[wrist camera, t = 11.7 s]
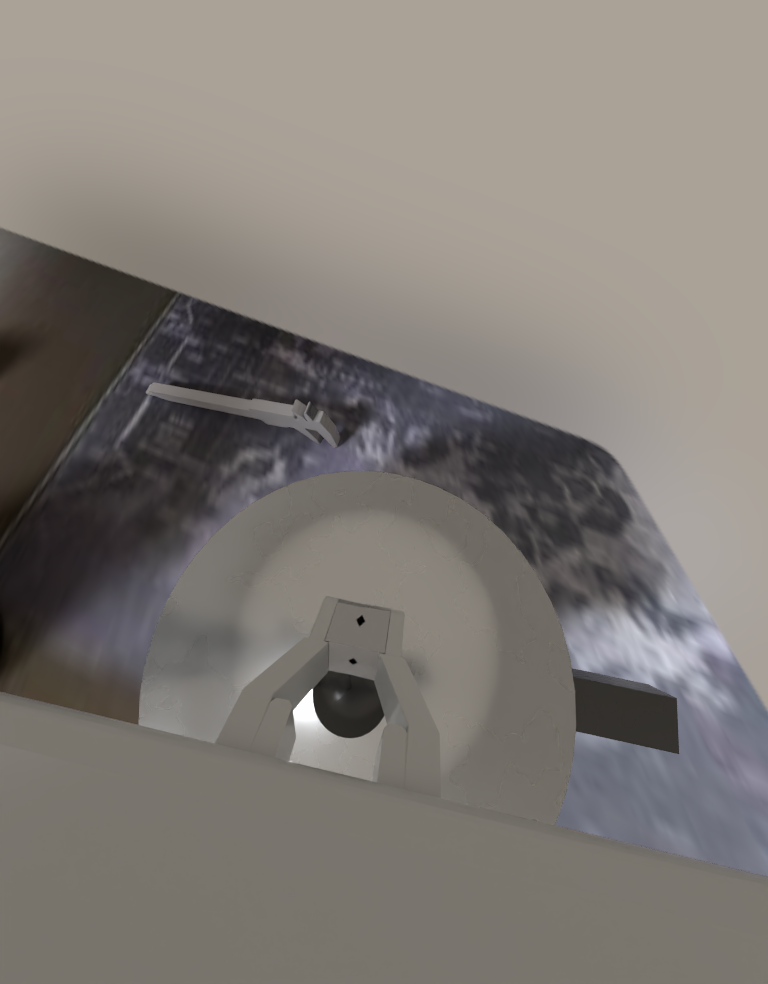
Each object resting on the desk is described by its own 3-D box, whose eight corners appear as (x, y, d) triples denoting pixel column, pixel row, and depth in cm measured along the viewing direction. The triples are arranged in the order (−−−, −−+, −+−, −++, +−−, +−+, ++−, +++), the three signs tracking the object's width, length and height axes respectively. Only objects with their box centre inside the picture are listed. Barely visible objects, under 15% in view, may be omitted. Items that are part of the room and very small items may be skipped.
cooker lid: (554, 1005, 10) (599, 1128, 8) (84, 873, 12) (11, 949, 9) (572, 509, 15) (605, 500, 12) (227, 448, 16) (200, 430, 13)
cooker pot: (566, 802, 20) (737, 1037, 10) (232, 722, 21) (100, 861, 12) (574, 548, 24) (702, 541, 14) (293, 496, 25) (233, 458, 16)
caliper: (342, 440, 27) (328, 405, 21) (338, 450, 27) (323, 418, 21) (153, 387, 29) (90, 340, 22) (148, 396, 28) (82, 352, 22)
